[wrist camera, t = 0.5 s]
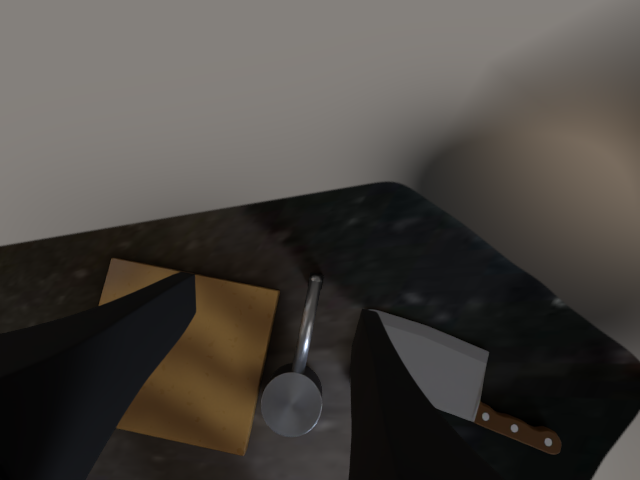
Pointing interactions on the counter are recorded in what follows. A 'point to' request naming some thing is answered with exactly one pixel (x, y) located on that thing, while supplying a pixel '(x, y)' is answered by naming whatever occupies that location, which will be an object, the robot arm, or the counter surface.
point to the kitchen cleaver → (457, 379)
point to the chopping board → (202, 361)
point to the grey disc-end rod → (296, 379)
